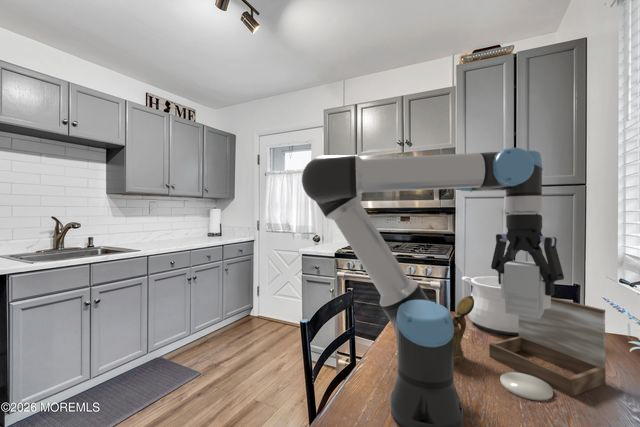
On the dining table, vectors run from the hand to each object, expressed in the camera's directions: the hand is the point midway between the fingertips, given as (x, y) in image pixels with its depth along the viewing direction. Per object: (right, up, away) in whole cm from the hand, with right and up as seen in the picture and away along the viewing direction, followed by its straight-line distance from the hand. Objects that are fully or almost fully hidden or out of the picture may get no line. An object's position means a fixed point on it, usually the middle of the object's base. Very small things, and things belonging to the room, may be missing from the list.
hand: (524, 302), depth 77 cm
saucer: (0, -21, 0) cm, 21 cm away
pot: (+19, -21, +41) cm, 50 cm away
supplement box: (0, -3, 0) cm, 3 cm away
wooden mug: (-10, -22, +17) cm, 29 cm away
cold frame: (+11, -21, +9) cm, 25 cm away
